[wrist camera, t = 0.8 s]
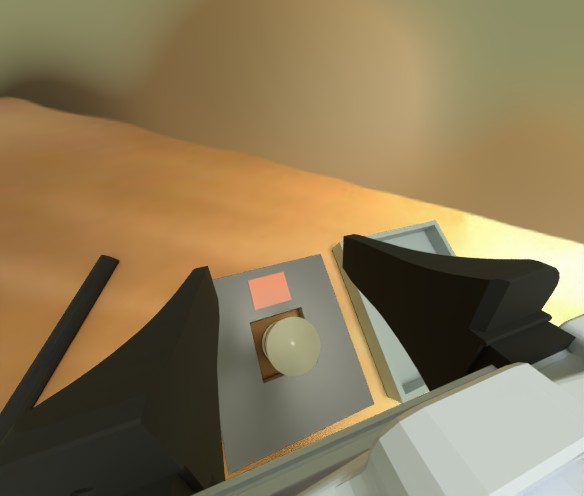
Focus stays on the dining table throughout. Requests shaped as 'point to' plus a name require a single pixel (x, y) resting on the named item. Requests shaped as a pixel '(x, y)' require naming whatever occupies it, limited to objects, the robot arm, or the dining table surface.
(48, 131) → the dining table surface
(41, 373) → the magnifying glass
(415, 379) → the parts tray
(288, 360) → the fuse
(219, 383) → the fuse holder
